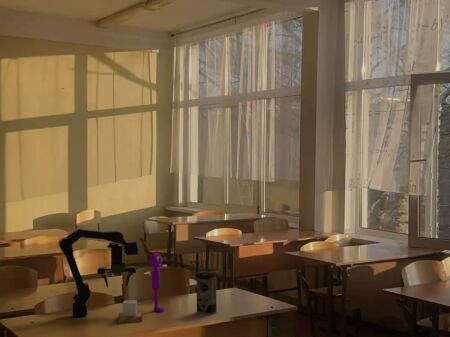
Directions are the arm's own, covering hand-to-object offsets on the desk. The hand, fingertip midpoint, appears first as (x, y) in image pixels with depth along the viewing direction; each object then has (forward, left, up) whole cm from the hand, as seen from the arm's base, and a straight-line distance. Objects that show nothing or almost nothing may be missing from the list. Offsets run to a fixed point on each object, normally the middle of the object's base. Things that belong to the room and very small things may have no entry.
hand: (116, 287), depth 305 cm
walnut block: (+6, -16, -13) cm, 21 cm away
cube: (+6, -16, -10) cm, 20 cm away
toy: (+20, 0, -13) cm, 23 cm away
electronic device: (+44, -9, -13) cm, 47 cm away
